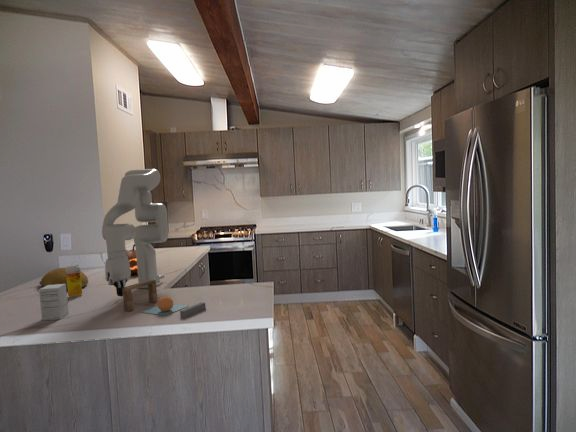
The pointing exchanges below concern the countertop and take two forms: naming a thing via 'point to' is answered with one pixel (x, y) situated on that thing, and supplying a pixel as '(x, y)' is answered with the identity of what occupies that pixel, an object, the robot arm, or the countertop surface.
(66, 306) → the supplement box
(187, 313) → the stopper
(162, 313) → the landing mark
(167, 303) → the ball
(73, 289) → the beer can
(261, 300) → the countertop surface
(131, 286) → the bridge
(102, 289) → the countertop surface
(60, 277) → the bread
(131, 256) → the pumpkin
